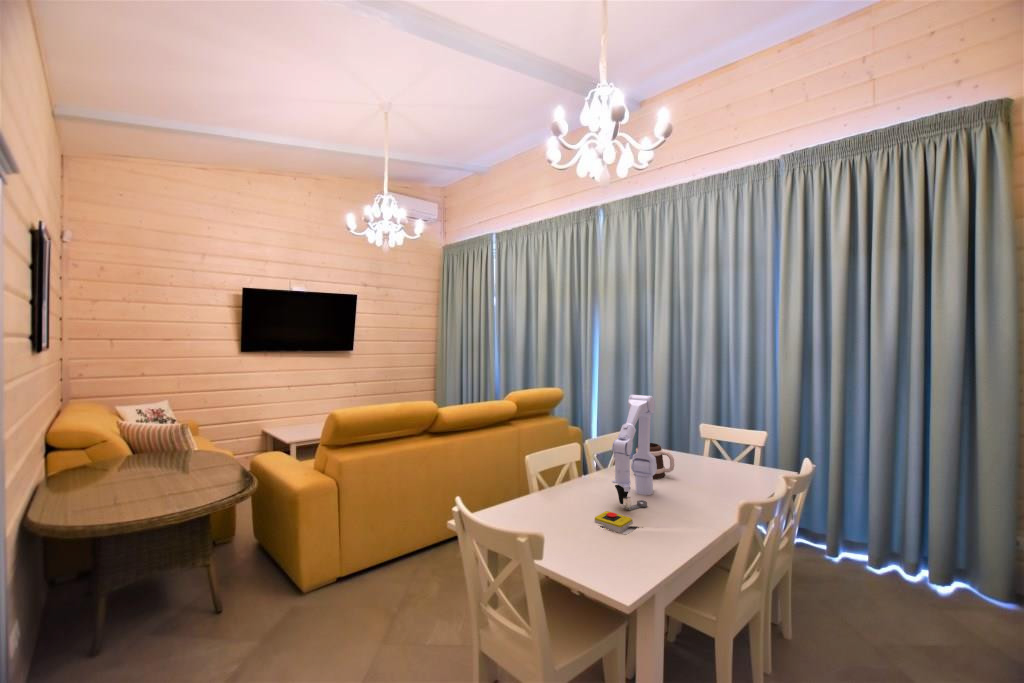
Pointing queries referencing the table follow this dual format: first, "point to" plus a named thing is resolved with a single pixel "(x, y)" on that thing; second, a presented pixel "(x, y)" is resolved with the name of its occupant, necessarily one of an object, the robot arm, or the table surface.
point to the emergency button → (615, 522)
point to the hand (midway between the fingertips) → (622, 503)
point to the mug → (660, 460)
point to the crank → (628, 505)
